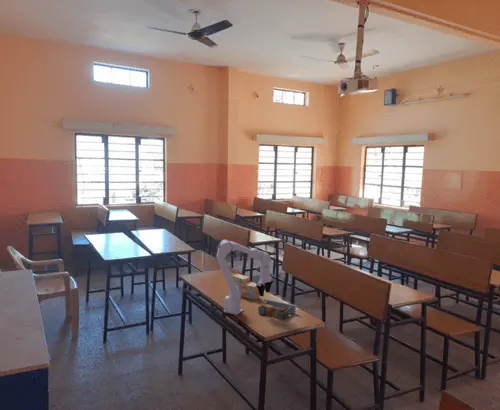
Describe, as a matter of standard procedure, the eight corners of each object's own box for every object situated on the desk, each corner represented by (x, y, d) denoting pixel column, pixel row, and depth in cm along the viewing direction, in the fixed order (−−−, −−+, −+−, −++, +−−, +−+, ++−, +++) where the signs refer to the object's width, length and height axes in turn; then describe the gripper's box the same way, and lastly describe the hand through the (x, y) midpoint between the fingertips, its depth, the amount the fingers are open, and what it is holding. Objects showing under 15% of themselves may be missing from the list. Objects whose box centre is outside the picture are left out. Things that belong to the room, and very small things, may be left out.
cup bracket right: (288, 315, 228) (289, 309, 227) (283, 319, 222) (283, 313, 221) (282, 314, 230) (282, 307, 229) (277, 318, 224) (277, 311, 223)
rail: (261, 313, 231) (261, 305, 230) (264, 311, 234) (264, 303, 233) (282, 318, 224) (283, 310, 223) (285, 316, 227) (285, 308, 226)
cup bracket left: (258, 313, 230) (258, 307, 229) (263, 309, 236) (263, 303, 235) (264, 315, 228) (264, 308, 227) (269, 311, 234) (269, 304, 233)
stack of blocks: (259, 298, 255) (260, 280, 254) (253, 300, 251) (253, 282, 249) (237, 290, 270) (237, 273, 268) (230, 292, 265) (230, 275, 264)
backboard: (260, 308, 237) (260, 301, 236) (264, 306, 241) (264, 298, 241) (292, 316, 226) (292, 308, 226) (295, 313, 231) (295, 305, 230)
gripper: (265, 276, 225) (264, 299, 226) (276, 270, 237) (275, 291, 239) (254, 274, 228) (254, 296, 230) (266, 268, 240) (265, 289, 242)
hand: (264, 294), depth 234 cm, fingers open, 7 cm apart
